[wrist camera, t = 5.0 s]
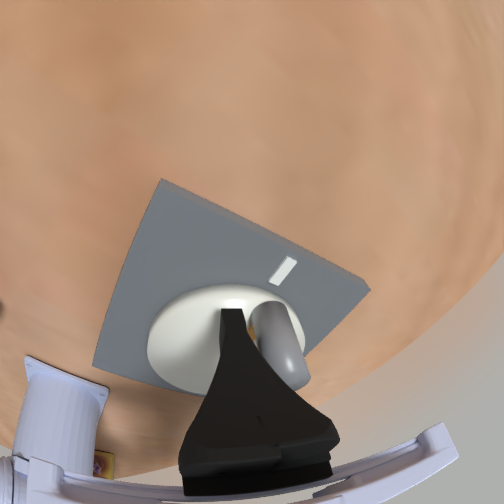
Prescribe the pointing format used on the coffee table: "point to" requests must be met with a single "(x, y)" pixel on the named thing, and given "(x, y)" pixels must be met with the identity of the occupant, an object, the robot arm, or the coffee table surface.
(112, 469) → the candy box
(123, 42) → the coffee table surface
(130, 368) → the stand plate
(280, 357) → the dial
